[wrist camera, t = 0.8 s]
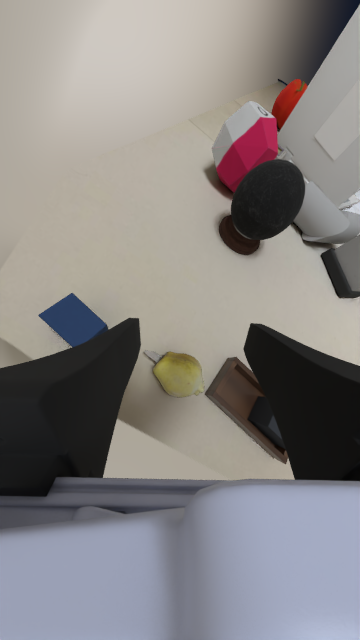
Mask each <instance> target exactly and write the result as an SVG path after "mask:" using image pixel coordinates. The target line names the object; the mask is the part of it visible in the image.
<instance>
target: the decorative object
mask: <svg viewBox="0 0 360 640" xmlns="http://www.w3.org/2000/svg"><path fill="white" fill-rule="evenodd" d="M212 152H213V157H214V161H215V166H216V170H217V173H218V176H219V180H220V181H221V182H223V183H224V184H225V185H226V186H227V187H228V188H229V189H230V190H231V191H233V192H234V193H235V191H236V189H237V187H238V185H239V183H240V182H241V181H242V179H243V178H244V176H245V175H246V174H247V173H248V172H249V171H251V170H252V169H253V168H255V167H256V166H258V165H259V164H261V163H263V162H266V161H269V160H274V159H275V158H276V157H277V154H278V140H277V121H276V118H275V117H274V116H273V115H271V114H270V113H269V112H268V111H266V110H265V109H264V108H263V107H262V106H260V105H259V104H258V103H257V102H251V101H248V102H247V103H246V104H244V105H243V106H242V107H241V108H240V109H239V110H238V111H236V112H235V113H234V114H233V115H232V116H231V117H230V118H228V119H227V120H226V121H225V122H224V124H223V126H222V128H221V130H220V133H219V135H218V137H217V139H216V141H215V143H214V145H213V147H212Z"/></svg>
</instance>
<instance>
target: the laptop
mask: <svg viewBox="0 0 360 640" xmlns="http://www.w3.org/2000/svg"><path fill="white" fill-rule="evenodd" d="M277 140H278V144H279V145H280V146H281V147H282V148H284V149H285V150H286V151H287V153H286V155H285V156H284V158H283V159H282V160H287V161H289V162H291V163H293V164H294V165H296V166H297V167H298V168H299V170H300V171H301V173H302V174H303V177H304V182H305V185H306V184H307V183H309V182H310V181H313V182H314V183H315V184H316V185H317V186H318V188H319V189H320V190H321V191H322V192H323V193H324V194H325V195H326V196H327V197H328V198H329V199H330V201H331V202H332V203H333V204H334V205H335V206H336V207H337V208H338V209H339V210H340V209H343V208H346V207H349V206H351V205H354V204H357V203H358V202H359V201H360V200H359V199H358V198H357V197H356V195H355V193H356V192H357V191H359V190H360V5H359V7H358V8H357V10H356V11H355V13H354V14H353V16H352V18H351V19H350V21H349V22H348V24H347V26H346V27H345V29H344V30H343V32H342V33H341V35H340V37H339V38H338V40H337V41H336V43H335V45H334V46H333V48H332V49H331V51H330V53H329V54H328V56H327V57H326V59H325V60H324V62H323V64H322V65H321V67H320V68H319V70H318V71H317V73H316V75H315V76H314V78H313V79H312V81H311V82H310V84H309V86H308V87H307V89H306V90H305V92H304V93H303V95H302V97H301V98H300V100H299V101H298V103H297V105H296V106H295V108H294V109H293V111H292V112H291V114H290V116H289V117H288V119H287V120H286V122H285V123H284V125H283V127H282V128H281V130H280V131H279V133H278V135H277Z"/></svg>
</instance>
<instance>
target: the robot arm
mask: <svg viewBox="0 0 360 640" xmlns="http://www.w3.org/2000/svg"><path fill="white" fill-rule="evenodd" d="M140 346H141V341H140V327H139V318H128V319H126V320H125V321H123V322H121V323H120V324H118V325H116V326H115V327H113V328H111V329H110V330H108V331H106V332H104V333H102V334H100V335H99V336H97V337H95V338H93V339H91V340H89V341H87V342H84V343H82V344H80V345H77V346H75V347H72V348H70V349H67V350H64V351H61V352H58V353H56V354H53V355H50V356H46V357H43V358H40V359H36V360H33V361H29V362H25V363H21V364H17V365H13V366H8V367H4V368H0V640H360V366H358V365H355V364H352V363H349V362H346V361H343V360H340V359H338V358H335V357H332V356H330V355H327V354H325V353H322V352H319V351H317V350H315V349H312V348H310V347H308V346H306V345H304V344H301V343H299V342H297V341H295V340H293V339H291V338H289V337H287V336H285V335H283V334H281V333H279V332H277V331H275V330H273V329H271V328H269V327H267V326H265V325H262V324H253V323H251V324H250V328H249V331H248V335H247V338H246V342H245V346H244V352H245V355H246V358H247V361H248V363H249V365H250V367H251V369H252V371H253V373H254V375H255V377H256V379H257V380H258V382H259V384H260V386H261V388H262V390H263V392H264V394H265V396H266V398H267V400H268V403H269V405H270V408H271V410H272V413H273V415H274V418H275V420H276V423H277V426H278V428H279V431H280V434H281V437H282V440H283V443H284V446H285V449H286V452H287V455H288V458H289V461H290V465H291V468H292V471H293V475H294V478H295V480H280V479H244V480H233V481H226V480H178V479H128V478H125V479H123V478H103V474H104V469H105V465H106V461H107V456H108V452H109V448H110V443H111V439H112V435H113V431H114V427H115V424H116V420H117V416H118V412H119V409H120V405H121V402H122V398H123V395H124V392H125V389H126V386H127V384H128V381H129V379H130V376H131V374H132V371H133V369H134V366H135V364H136V361H137V358H138V355H139V351H140Z"/></svg>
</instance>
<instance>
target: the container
mask: <svg viewBox="0 0 360 640" xmlns="http://www.w3.org/2000/svg"><path fill="white" fill-rule="evenodd" d="M322 258H323V260H324V262H325V265H326V267H327V270H328V272H329V274H330V277H331V279H332V281H333V284H334V286H335V289H336V291H337V293H338V296H339V297H349V298H356V297H359V296H360V235H358V236H356V237H355V238H353V239H351V240H350V241H348V242H346V243H345V244H343V245H341V246H340V247H338V248H336V249H333V248H331V249H329V250H327V251H325V252H324V253H322Z"/></svg>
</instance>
